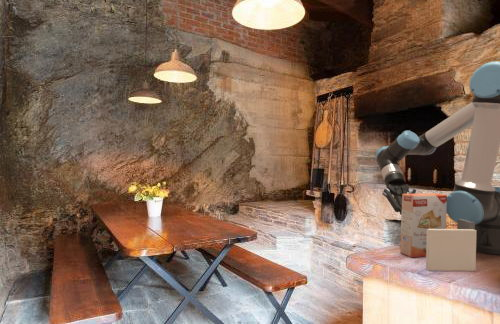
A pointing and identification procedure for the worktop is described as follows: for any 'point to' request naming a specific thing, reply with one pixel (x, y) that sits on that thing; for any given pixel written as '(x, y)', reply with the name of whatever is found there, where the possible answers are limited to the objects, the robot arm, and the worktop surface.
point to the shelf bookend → (452, 248)
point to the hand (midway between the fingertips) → (412, 226)
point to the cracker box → (420, 220)
